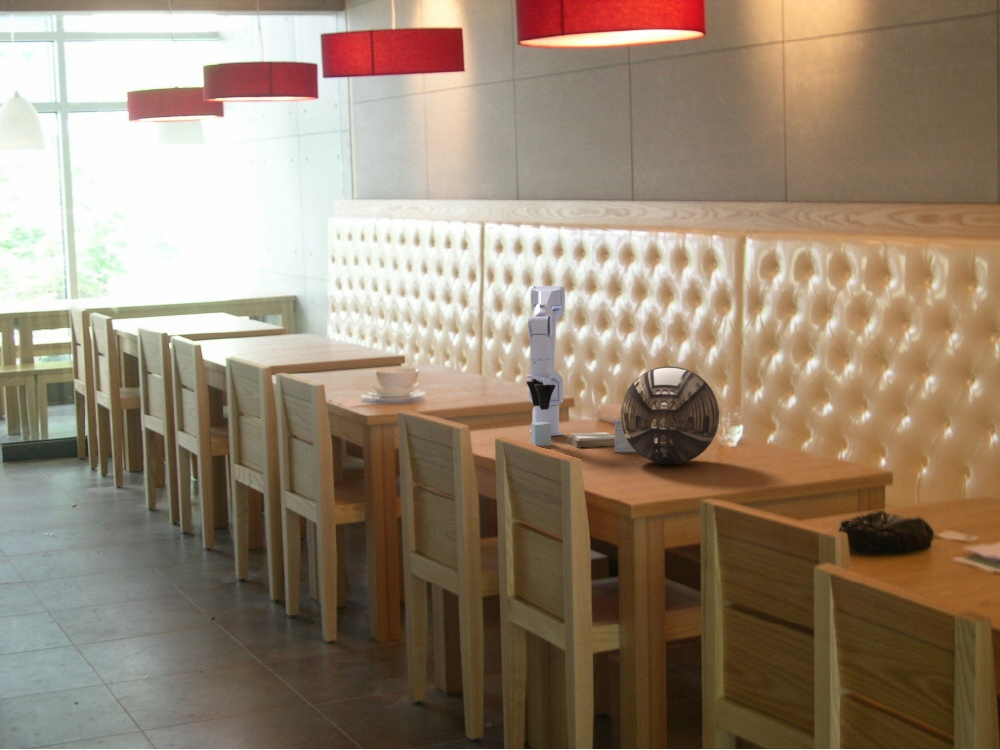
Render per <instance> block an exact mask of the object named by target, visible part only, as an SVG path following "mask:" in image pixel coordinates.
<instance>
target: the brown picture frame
mask: <svg viewBox="0 0 1000 750" xmlns="http://www.w3.org/2000/svg"><path fill="white" fill-rule="evenodd" d="M567 443H568V444H570V445H571V444H572V445H571V446H573V447H575V448H577V449H582V448H581V447H589V448H599V447H598V446H608V447H615V435H613V434H612V433H609V432H607V431H601V432H582V433H581V432H580V433H571V434H568V435H567Z"/></svg>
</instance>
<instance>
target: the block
mask: <svg viewBox="0 0 1000 750" xmlns="http://www.w3.org/2000/svg"><path fill="white" fill-rule="evenodd" d="M530 430H531V432H530V434H531V435H530V439H531V441H530V443H532V445H533V444H535V445H538V446H537V447H542V446H545V447H546V446H552V436H551V424H550V423H548V422H533V421H532V422H530Z"/></svg>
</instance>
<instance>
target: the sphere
mask: <svg viewBox="0 0 1000 750" xmlns="http://www.w3.org/2000/svg"><path fill="white" fill-rule="evenodd" d="M620 406H621V407H620V419H621V425H622V429H623V432H624V435H625V437H626V439H627V441H628V442H629V444H630V445H631V446H632V447H633V449H634V450H635V451H636V452H635V453H638V455H641V456H642V457H643V458H645V459H646V460H648V461H651V462H653V463H656V464H660V465H670V466H671V465H679V464H684V463H687V462H689V461H692V460H694V459H695V458H697V457H699V456H700V455H701V454H703V453H704V452H705V451H706V450H707V449H708V447H710V445H711V444H712V442H713V441H714V439H715V436H716V434H717V431H718V428H719V424H720V409H719V403H718V400H717V397H716V395H715V393H714V390H713V389H712V388H711V387H710V385H709V384H708V383H707V381H705V380H704V378H702V376H700V375H698V374H697V373H696V372H694V371H692V370H689V369H687V368H684V367H679V366H668V365H667V366H660V367H657V368H653V369H650V370H649V371H646V372H644V373H642V374H641V375H640V376H638V377H637V378H636V379H635V380H634V381H633V382H632V383H631V385H629V387H628V388H627V390H626V392H625V394H624V396H623V399H622V401H621V405H620Z"/></svg>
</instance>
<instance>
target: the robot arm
mask: <svg viewBox="0 0 1000 750" xmlns="http://www.w3.org/2000/svg"><path fill="white" fill-rule="evenodd" d="M565 303H566V288H565V286H564V285H532V287H531V289H530V305H531V311H532V315H531V318H528V320H527V333H528V343H529V361H530V362H529V363H530V364H529V366H530V369H529V370H530V374H526V376H525V378H527V379H529V380H526V385H527V387H528V396H529V397H528V398H529V402H531V404H532V405H533V408H532V412H531V414H532V416H531V417H532V420H531V421H532V423H533V422H548V423H550V424H551V437H553V436H564V433H563V432H561V431H560V404H562V403H563V402H564V397H565V394H564V393H565V391H564V390H565V387H564V378H563V376H562V375H561V374H559V373H558V372H557V371H555V365H556V364H555V363H556V359H555V358H556V330H557V323H558V319H559V318H561V317H563V316H565V315H564V313H565V307H566V306H565ZM529 432H530V433H531V429H530V430H529Z"/></svg>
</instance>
